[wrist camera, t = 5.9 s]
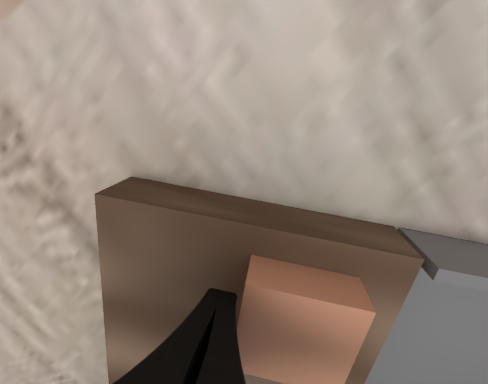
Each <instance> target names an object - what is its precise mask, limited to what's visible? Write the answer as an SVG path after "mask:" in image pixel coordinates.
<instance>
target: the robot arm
mask: <svg viewBox="0 0 488 384" xmlns="http://www.w3.org/2000/svg"><path fill="white" fill-rule="evenodd" d="M236 299H237V295H236V294H235V293H233V292H228V291H224V290H219V289H215V288H210V289H208V290H207V292H206V294H205V295H204V296H203V298H202V299H201V300H200V302H199V303H198V304H197V305H196V307H195V308H194V309H193V310H192V312H191V313H190V314H189V315H188V316H187V317H186V318H185V320H184V321H183V322H182V323H181V324H180V325H179V326H178V327H177V328H176V329H175V330H174V331H173V332H172V333H171V334H170V335H169V336H168V337H167V338H166V339H165V340H164V341H163V342H162V343H161V344H160V345H159V346H158V347H157V348H156V349H155V350H154V351H152V352H151V353H150V354H149V355H148V356H147V357H146V358H144V359H143V360H142V361H141V362H140V363H138V364H137V365H136V366H135V367H134V368H132V369H131V370H130V371H129V372H127V373H126V374H125V375H123V376H122V377H121V378H119V379H118V380H117V381H115V382H114V383H112V384H246V382H245V378H244V373H243V369H242V364H241V358H240V352H239V346H238V338H237V328H236Z"/></svg>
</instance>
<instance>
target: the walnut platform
mask: <svg viewBox="0 0 488 384" xmlns="http://www.w3.org/2000/svg"><path fill="white" fill-rule="evenodd" d="M95 205H96V218H97V231H98V245H99V258H100V271H101V284H102V298H103V311H104V324H105V337H106V351H107V364H108V377H109V384H112V383H114V382H115V381H117V380H118V379H119V378H121V377H122V376H123V375H125V374H126V373H127V372H129V371H130V370H131V369H132V368H134V367H135V366H136V365H137V364H138V363H140V362H141V361H142V360H143V359H144V358H146V357H147V356H148V355H149V354H150V353H151V352H152V351H154V350H155V349H156V348H157V347H158V346H159V345H160V344H161V343H162V342H163V341H164V340H165V339H166V338H167V337H168V336H169V335H170V334H171V333H172V332H173V331H174V330H175V329H176V328H177V327H178V326H179V325H180V324H181V323H182V322H183V321H184V320H185V318H186V317H187V316H188V315H189V314H190V313H191V312H192V310H193V309H194V308H195V307H196V305H197V304H198V303H199V302H200V300H201V299H202V298H203V296H204V295H205V294H206V292H207V290H208V289H210V288H215V289H219V290H224V291H228V292H233V293H235V294H236V295H237V299H236V328H237V326H238V320H239V315H240V310H241V304H242V299H243V293H244V288H245V283H246V278H247V273H248V268H249V263H250V258H251V255H255V256H260V257H265V258H269V259H274V260H279V261H284V262H288V263H293V264H298V265H303V266H307V267H312V268H317V269H321V270H326V271H331V272H336V273H340V274H345V275H350V276H355V277H359V278H360V279H361V281H362V283H363V285H364V287H365V290H366V292H367V294H368V296H369V298H370V300H371V303H372V305H373V307H374V309H375V311H376V315H375V317H374V319H373V321H372V324H371V326H370V328H369V330H368V332H367V335H366V337H365V339H364V341H363V344H362V346H361V348H360V350H359V353H358V355H357V357H356V359H355V362H354V364H353V366H352V368H351V371H350V373H349V375H348V377H347V379H346V382H345V384H364V383H365V381H366V379H367V377H368V375H369V373H370V371H371V369H372V367H373V365H374V363H375V361H376V359H377V357H378V355H379V353H380V351H381V348H382V346H383V344H384V342H385V340H386V338H387V336H388V334H389V332H390V330H391V328H392V326H393V324H394V322H395V320H396V318H397V316H398V313H399V311H400V309H401V307H402V305H403V303H404V301H405V299H406V297H407V295H408V293H409V291H410V289H411V287H412V285H413V283H414V281H415V278H416V276H417V274H418V272H419V270H420V268H421V266H422V264H423V262H424V258H423V257H422V256H421V255H420V254H419V253H418V252H417V251H416V250H415V249H414V248H413V247H412V246H411V245H410V244H409V242H408V241H407V240H406V239H405V238H404V237H403V236H402V235H401V234H400V233H399V232H398V231H397V230H396V229H395V228H394V227H392V226H387V225H382V224H376V223H371V222H366V221H361V220H355V219H350V218H345V217H340V216H334V215H329V214H324V213H319V212H313V211H308V210H303V209H298V208H292V207H287V206H282V205H276V204H271V203H266V202H261V201H255V200H250V199H245V198H240V197H234V196H229V195H224V194H219V193H213V192H208V191H203V190H198V189H192V188H187V187H182V186H176V185H171V184H166V183H161V182H155V181H150V180H145V179H140V178H134V177H130V178H128V179H126V180H123V181H121V182H119V183H117V184H115V185H113V186H111V187H109V188H106V189H104V190H102V191H100V192H98V193H96V194H95Z"/></svg>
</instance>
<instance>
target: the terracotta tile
mask: <svg viewBox="0 0 488 384" xmlns="http://www.w3.org/2000/svg"><path fill="white" fill-rule="evenodd" d="M375 315H376V311H375V309H374V307H373V305H372V303H371V300H370V298H369V296H368V294H367V292H366V290H365V287H364V285H363V283H362V281H361V279H360V278H359V277H355V276H350V275H345V274H340V273H336V272H331V271H326V270H321V269H317V268H312V267H307V266H303V265H298V264H293V263H288V262H284V261H279V260H274V259H269V258H265V257H260V256H255V255H251V258H250V263H249V268H248V273H247V278H246V283H245V288H244V293H243V299H242V304H241V310H240V315H239V320H238V326H237V338H238V346H239V352H240V358H241V364H242V369H243V373H245V374H249V375H253V376H257V377H261V378H265V379H269V380H273V381H277V382H280V383H284V384H345V382H346V379H347V377H348V375H349V373H350V371H351V368H352V366H353V364H354V362H355V359H356V357H357V355H358V353H359V350H360V348H361V346H362V344H363V341H364V339H365V337H366V335H367V332H368V330H369V328H370V326H371V324H372V321H373V319H374V317H375Z"/></svg>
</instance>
